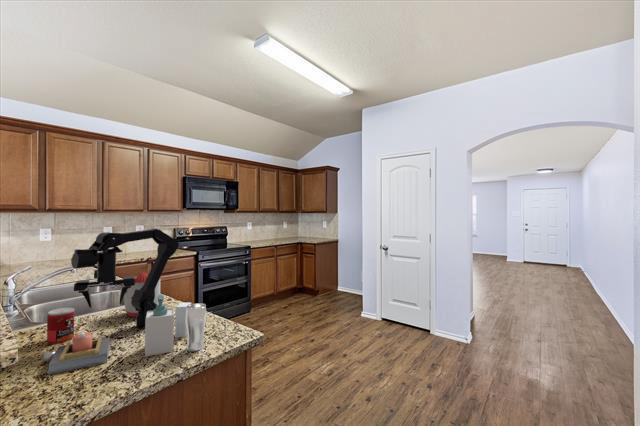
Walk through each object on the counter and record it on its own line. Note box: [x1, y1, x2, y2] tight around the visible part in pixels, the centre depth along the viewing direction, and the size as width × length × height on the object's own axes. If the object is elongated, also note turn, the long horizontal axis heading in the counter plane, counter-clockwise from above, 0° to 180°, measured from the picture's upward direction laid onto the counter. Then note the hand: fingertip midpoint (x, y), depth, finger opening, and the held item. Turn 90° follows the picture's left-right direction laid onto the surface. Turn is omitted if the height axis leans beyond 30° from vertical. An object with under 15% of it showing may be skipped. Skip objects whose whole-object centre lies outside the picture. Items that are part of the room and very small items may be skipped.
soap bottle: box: [144, 293, 175, 357], centre depth 104 cm, size 9×9×19 cm
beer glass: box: [185, 302, 207, 352], centre depth 105 cm, size 7×7×15 cm
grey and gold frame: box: [42, 336, 111, 375], centre depth 95 cm, size 17×14×4 cm
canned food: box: [46, 307, 76, 345], centre depth 110 cm, size 8×8×11 cm
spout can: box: [72, 332, 93, 353], centre depth 96 cm, size 5×5×9 cm
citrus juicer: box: [118, 271, 162, 318], centre depth 141 cm, size 16×17×20 cm
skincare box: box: [174, 301, 192, 338], centre depth 117 cm, size 6×4×12 cm
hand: (105, 305), depth 112 cm, fingers open, 9 cm apart
